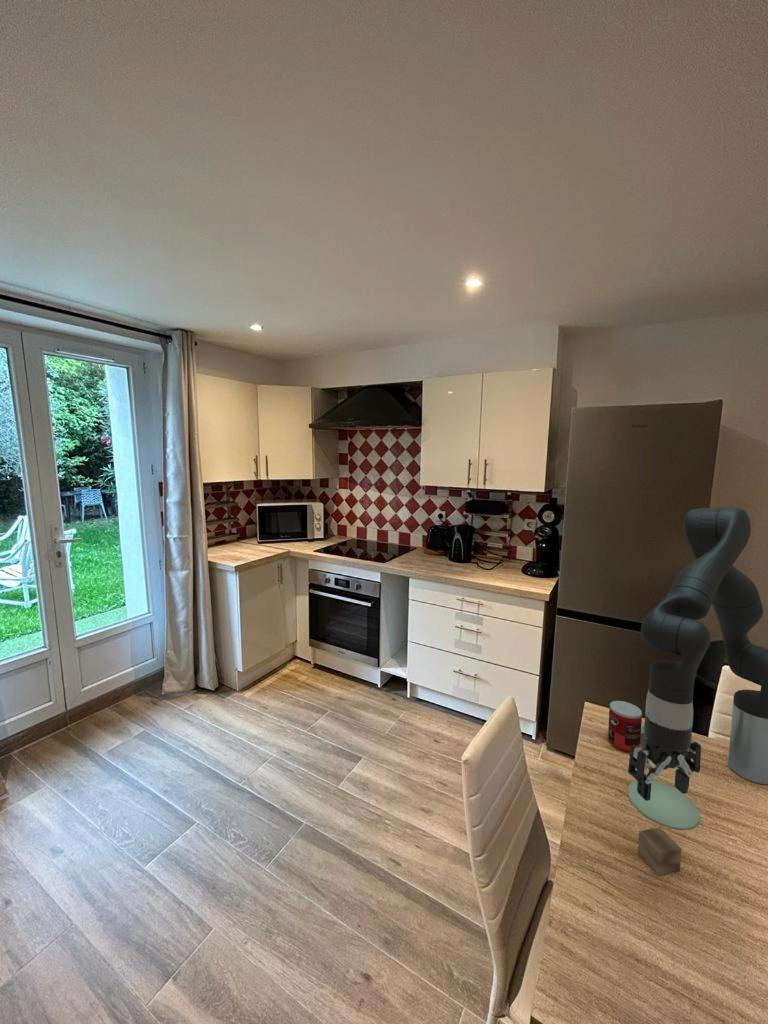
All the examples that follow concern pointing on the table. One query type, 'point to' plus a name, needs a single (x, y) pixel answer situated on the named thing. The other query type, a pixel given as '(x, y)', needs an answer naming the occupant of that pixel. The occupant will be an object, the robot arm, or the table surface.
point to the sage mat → (666, 806)
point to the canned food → (624, 725)
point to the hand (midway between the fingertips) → (662, 793)
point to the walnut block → (659, 851)
